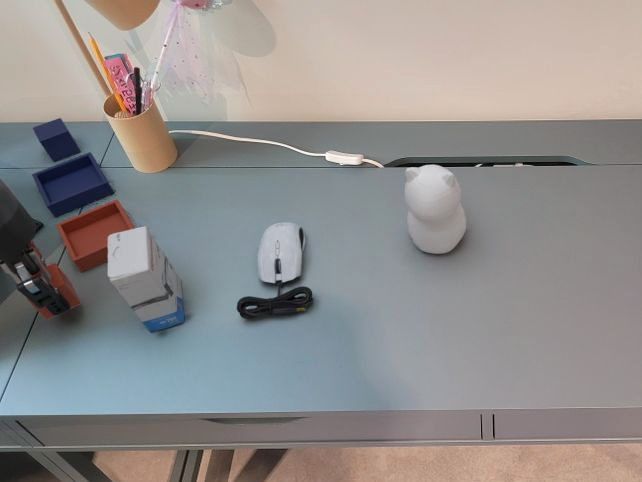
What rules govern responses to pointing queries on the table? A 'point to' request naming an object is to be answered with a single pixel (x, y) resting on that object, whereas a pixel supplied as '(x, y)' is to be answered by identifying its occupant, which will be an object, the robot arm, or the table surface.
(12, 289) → the table surface
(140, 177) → the table surface
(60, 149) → the navy block
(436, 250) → the cat figurine
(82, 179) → the navy tray
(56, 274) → the terracotta block
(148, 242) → the ink box
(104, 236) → the terracotta tray
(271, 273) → the computer mouse
